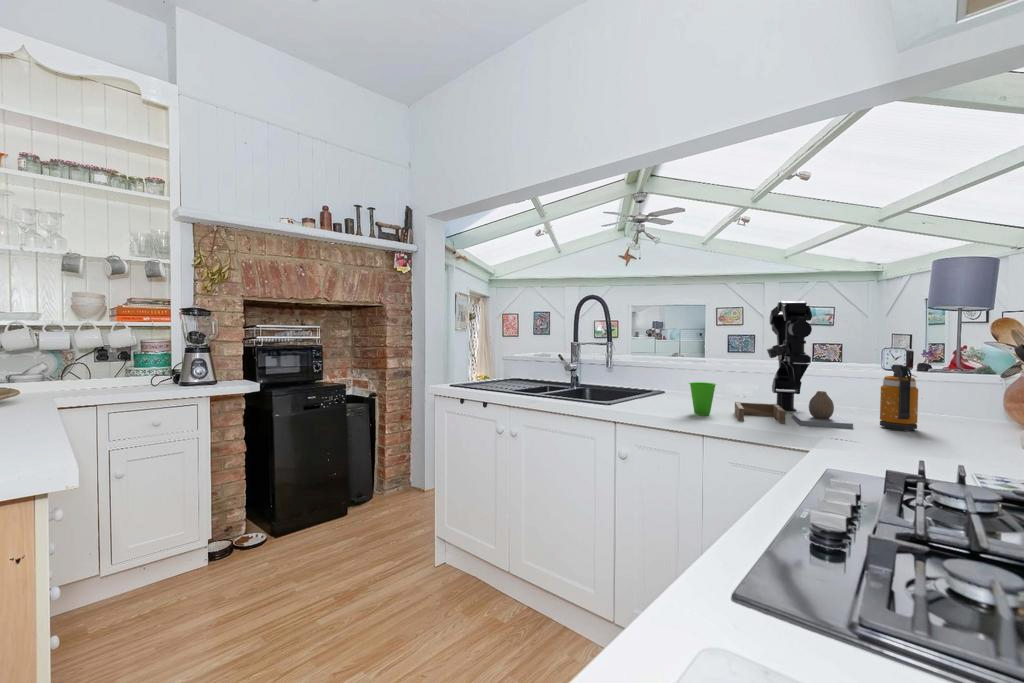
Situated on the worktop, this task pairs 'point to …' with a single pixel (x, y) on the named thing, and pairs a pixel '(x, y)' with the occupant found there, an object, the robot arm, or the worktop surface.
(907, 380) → the canister
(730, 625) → the worktop surface
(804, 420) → the board
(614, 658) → the worktop surface
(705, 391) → the cup
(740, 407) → the holder
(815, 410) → the vase
